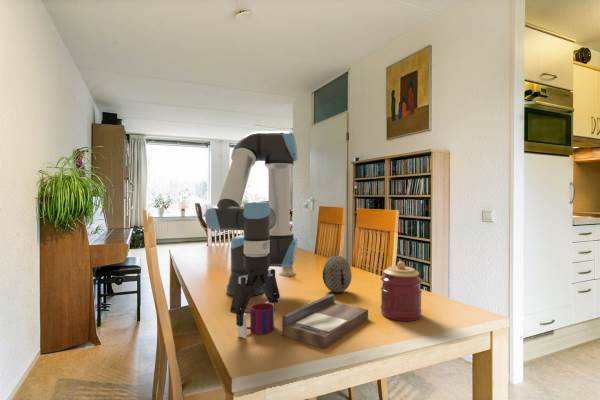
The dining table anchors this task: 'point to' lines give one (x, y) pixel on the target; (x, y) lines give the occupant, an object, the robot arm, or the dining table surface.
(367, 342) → the dining table surface
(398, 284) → the canister
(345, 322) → the memo pad holder
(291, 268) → the hand bell
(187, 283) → the dining table surface
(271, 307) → the mug
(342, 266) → the decorative egg
